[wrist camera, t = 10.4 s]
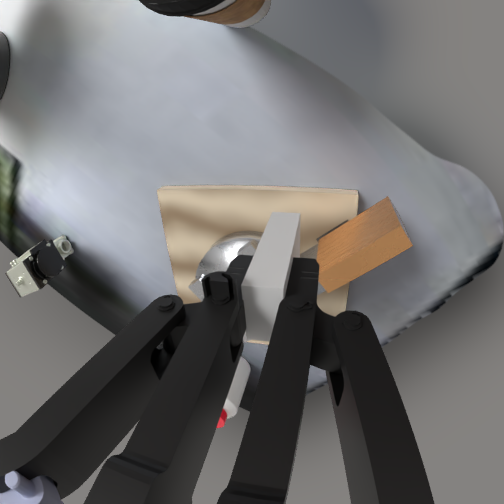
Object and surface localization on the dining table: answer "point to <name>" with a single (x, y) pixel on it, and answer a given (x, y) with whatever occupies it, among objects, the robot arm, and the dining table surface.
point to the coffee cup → (214, 10)
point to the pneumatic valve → (39, 265)
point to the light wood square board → (247, 224)
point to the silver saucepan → (324, 248)
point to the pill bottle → (235, 392)
